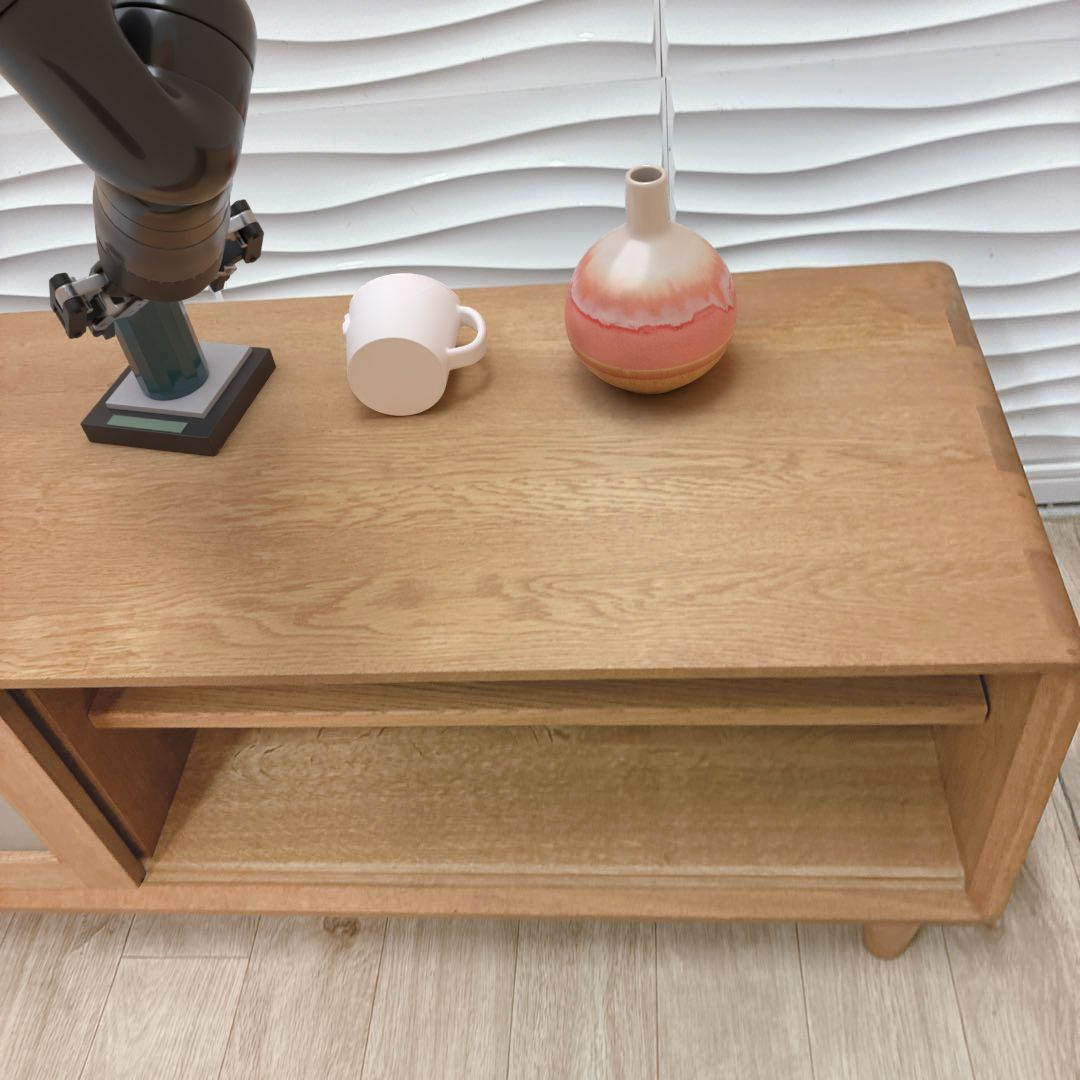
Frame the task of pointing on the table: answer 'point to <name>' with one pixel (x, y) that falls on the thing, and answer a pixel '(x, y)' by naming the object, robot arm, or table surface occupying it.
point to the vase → (650, 296)
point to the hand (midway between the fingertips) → (157, 302)
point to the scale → (183, 405)
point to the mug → (407, 342)
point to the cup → (162, 350)
